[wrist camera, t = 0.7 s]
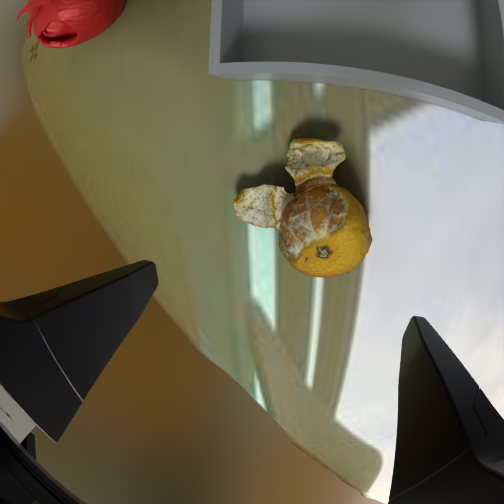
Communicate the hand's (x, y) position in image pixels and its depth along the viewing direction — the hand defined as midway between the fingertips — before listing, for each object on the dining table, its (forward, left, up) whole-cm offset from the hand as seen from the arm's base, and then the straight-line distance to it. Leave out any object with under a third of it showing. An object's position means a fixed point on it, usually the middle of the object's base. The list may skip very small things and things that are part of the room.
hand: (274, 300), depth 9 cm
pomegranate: (+19, -18, -11) cm, 28 cm away
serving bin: (-2, -16, -11) cm, 19 cm away
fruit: (+3, -1, -12) cm, 13 cm away
